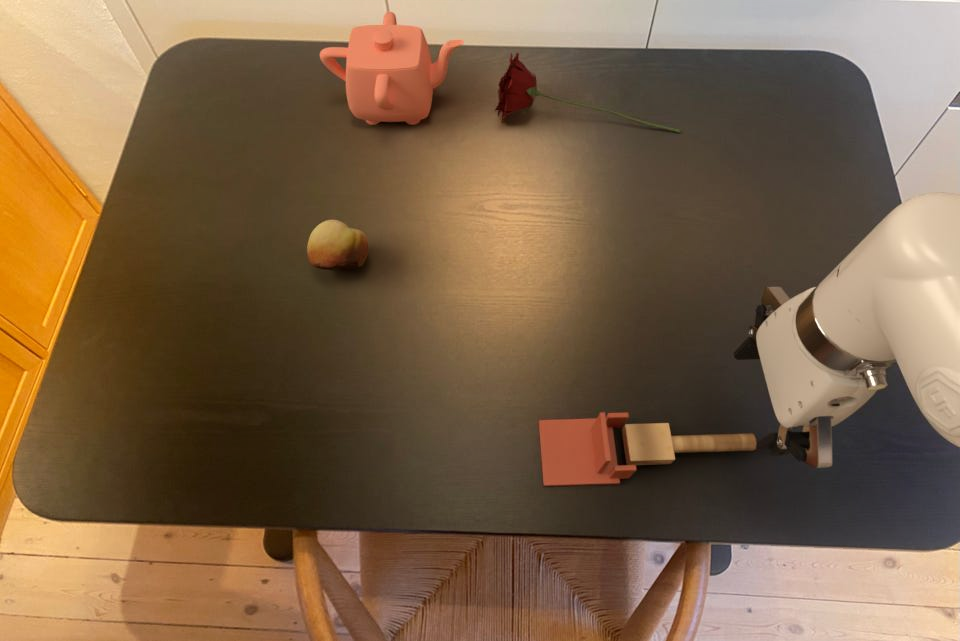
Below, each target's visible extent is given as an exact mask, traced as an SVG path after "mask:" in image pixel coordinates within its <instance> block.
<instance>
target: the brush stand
mask: <svg viewBox="0 0 960 641" xmlns="http://www.w3.org/2000/svg"><path fill="white" fill-rule="evenodd" d="M629 418H630V415H629V412H608V413H607V414H606V412H605V411H602V412H599V413H598V416H597V417H592V418H567V419H566V418H561V419H539V420H538V430H539V444H540V456H541V457H540V458H541V470H542V484H543V485H542V486H543V487H567V486H570V487H571V486H596V485H597V486H598V485H599V486H600V485H601V486H603V485H620V484H621V480H627V479H630V478H631V477H632V476H633V474H635V473H636V471H637V465H627V464H621V465H619V464H618V457H617V449H616V443H615V435H614V433H615V432H614V429H622V428H623V427H624V426H625V424H626V422H627V421H628V420H629Z"/></svg>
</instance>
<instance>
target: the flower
mask: <svg viewBox="0 0 960 641" xmlns="http://www.w3.org/2000/svg"><path fill="white" fill-rule="evenodd" d="M519 56H520V53H519V51H517V52H516V53H515V55H514V57H513V52H510V56H509V65H508V67H507V68H506V71H505V72H504V74H503V76H501V77H500V79H499V81H498V90H497V95H498V96H497V97H498V103H497V106H496V107H495V109H494V112H496V111H497V117H498V118H500V114H501V120H500V123H501V124H503V123H504V117H506V116H508V115H511V114H513V113H515V112H518V111H520V110H523V109H526V110H525V111H524V112H523V113H522V115H524V114H526V113H527V112H528V111H529V109H530V108H531V107H532V105H533V103H534V102H535V100H536V97H538V96H539V97H540V96H541V97H544V98H548V99H551V100H555V101H559V102H562V103H566V104H571V105H573V106H574V105H575V106H579V107H584V108H588V109H591V110H592V109H593V110H598V111H602V112H606V113H609V114H613V115H616V116H618V117H622V118H624V119H627V120H629V121H632V122H636V123H639V124H642V125H646V126H649V127H654V128H657V129H662V130H665V131H670V132H674V133H681V130H682V129H678V128H674V127H670V126H666V125H661V124H658V123H652V122H649V121H645V120H641V119H638V118H635V117H632V116H629V115H626V114H623V113H620V112H618V111H614V110H610V109H607V108H603V107H598V106H594V105H589V104H584V103H580V102H575V101H571V100H567V99H564V98H560V97H557V96H553V95H549V94H545V93H542V92H540V91H538V84H537V82H538V80H537V77H536V74H535V73H533V72H532V71H531V70H529V69H528V68H527V66H526V65H525V64H524V63H523V62H522V61H521V60H520V59H519Z"/></svg>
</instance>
